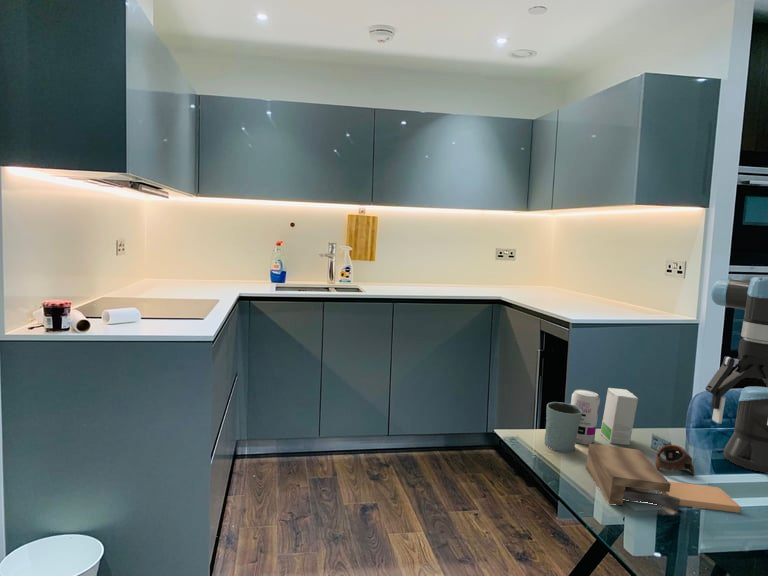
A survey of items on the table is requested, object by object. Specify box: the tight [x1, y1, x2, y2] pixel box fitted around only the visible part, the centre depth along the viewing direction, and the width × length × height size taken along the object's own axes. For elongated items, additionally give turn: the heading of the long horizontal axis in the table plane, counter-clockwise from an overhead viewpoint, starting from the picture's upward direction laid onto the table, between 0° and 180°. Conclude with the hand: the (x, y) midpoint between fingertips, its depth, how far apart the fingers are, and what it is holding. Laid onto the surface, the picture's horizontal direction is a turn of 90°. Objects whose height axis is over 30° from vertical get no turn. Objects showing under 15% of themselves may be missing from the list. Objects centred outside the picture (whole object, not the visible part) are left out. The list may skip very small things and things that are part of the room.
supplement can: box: [570, 389, 601, 445], centre depth 168 cm, size 8×8×15 cm
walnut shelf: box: [585, 443, 681, 511], centre depth 137 cm, size 17×20×7 cm
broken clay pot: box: [654, 442, 695, 477], centre depth 152 cm, size 12×10×8 cm
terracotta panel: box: [660, 480, 742, 514], centre depth 136 cm, size 16×10×2 cm, turn 85°
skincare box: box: [600, 387, 639, 446], centre depth 171 cm, size 8×7×16 cm
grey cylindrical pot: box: [544, 401, 582, 453], centre depth 161 cm, size 10×10×12 cm
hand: (744, 424), depth 135 cm, fingers open, 13 cm apart
